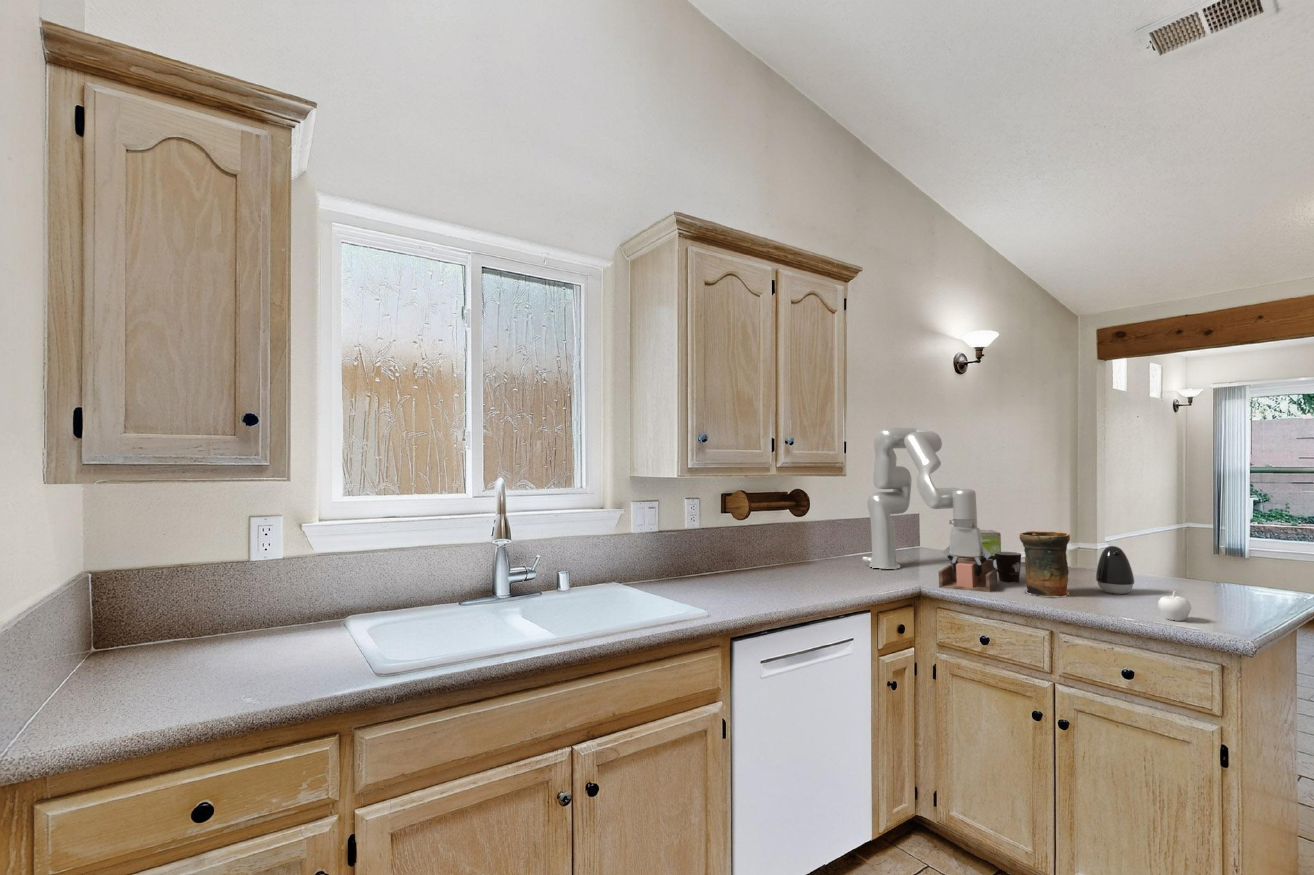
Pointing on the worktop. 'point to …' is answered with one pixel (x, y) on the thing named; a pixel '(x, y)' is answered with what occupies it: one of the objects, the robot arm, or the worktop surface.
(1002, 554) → the coffee mug
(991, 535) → the tea box
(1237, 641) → the worktop surface
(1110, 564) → the black rounded egg shape
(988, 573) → the stand
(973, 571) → the salmon pink block
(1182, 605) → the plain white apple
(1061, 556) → the vessel
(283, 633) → the worktop surface
